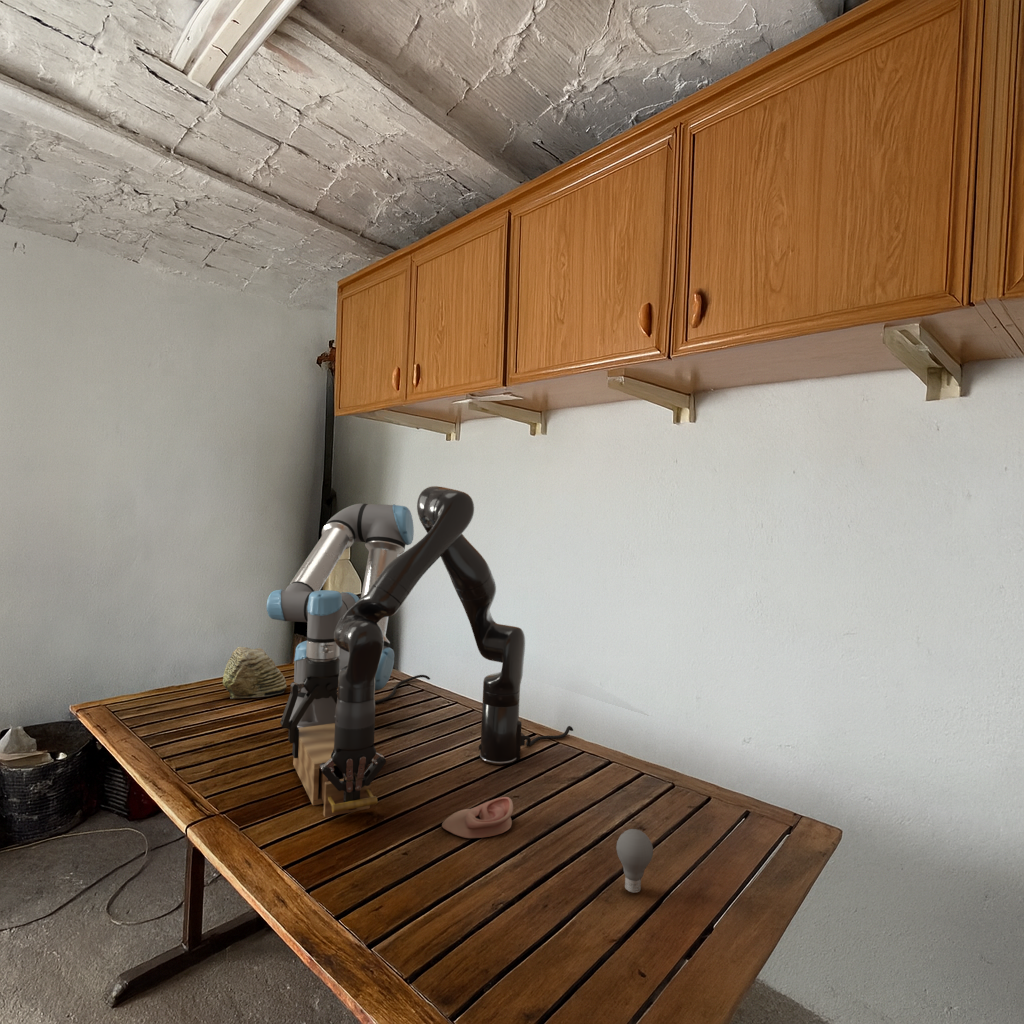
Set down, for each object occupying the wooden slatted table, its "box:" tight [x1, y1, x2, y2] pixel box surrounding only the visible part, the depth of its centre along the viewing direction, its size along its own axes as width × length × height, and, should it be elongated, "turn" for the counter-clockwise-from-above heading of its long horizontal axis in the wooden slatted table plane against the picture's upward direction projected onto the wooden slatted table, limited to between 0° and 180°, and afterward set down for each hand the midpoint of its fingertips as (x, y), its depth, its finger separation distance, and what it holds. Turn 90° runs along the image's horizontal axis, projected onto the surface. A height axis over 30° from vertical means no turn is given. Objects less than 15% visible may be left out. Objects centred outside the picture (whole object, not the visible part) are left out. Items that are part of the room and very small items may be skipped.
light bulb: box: [615, 828, 654, 894], centre depth 106 cm, size 6×6×10 cm
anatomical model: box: [441, 796, 514, 839], centre depth 125 cm, size 13×4×12 cm
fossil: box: [222, 646, 288, 699], centre depth 198 cm, size 9×18×15 cm, turn 132°
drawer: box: [318, 766, 378, 818], centre depth 132 cm, size 26×9×6 cm, turn 29°
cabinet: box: [292, 723, 336, 806], centre depth 142 cm, size 22×10×9 cm, turn 29°
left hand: (319, 752), depth 148 cm, fingers closed on cabinet, 10 cm apart
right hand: (351, 808), depth 123 cm, fingers closed
